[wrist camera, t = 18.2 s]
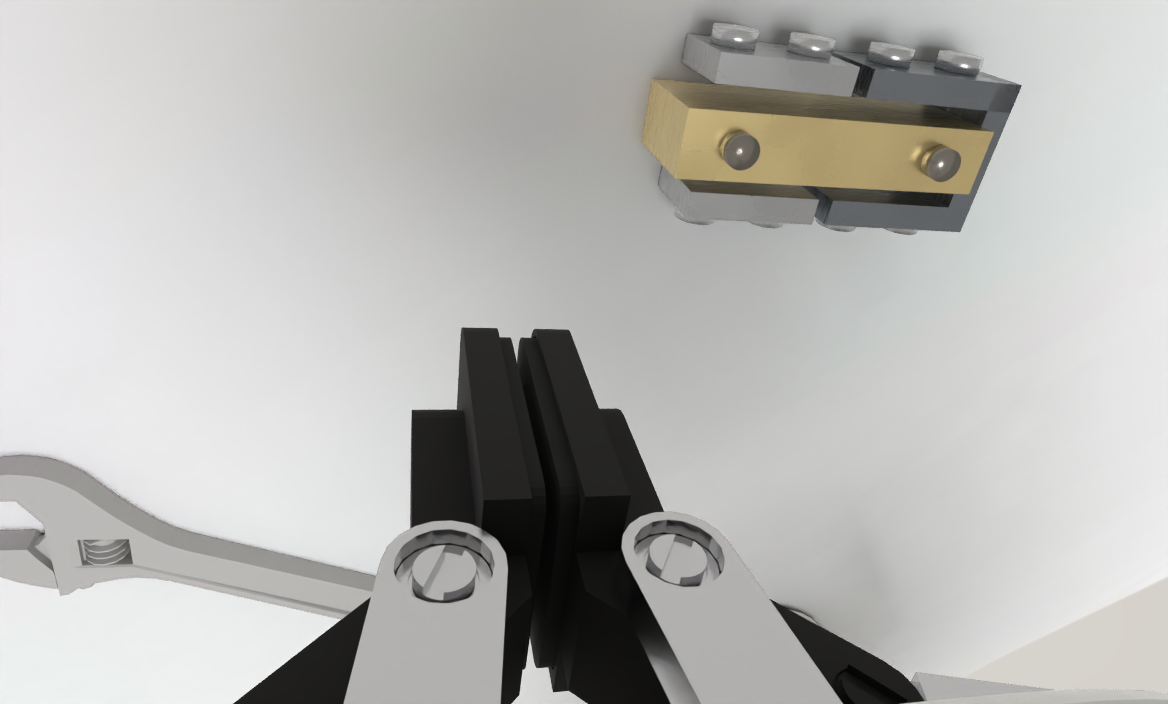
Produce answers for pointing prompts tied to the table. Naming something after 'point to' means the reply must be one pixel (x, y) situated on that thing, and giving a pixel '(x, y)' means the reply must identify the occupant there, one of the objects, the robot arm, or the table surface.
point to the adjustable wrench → (148, 547)
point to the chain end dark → (920, 82)
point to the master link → (810, 139)
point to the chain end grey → (760, 66)
